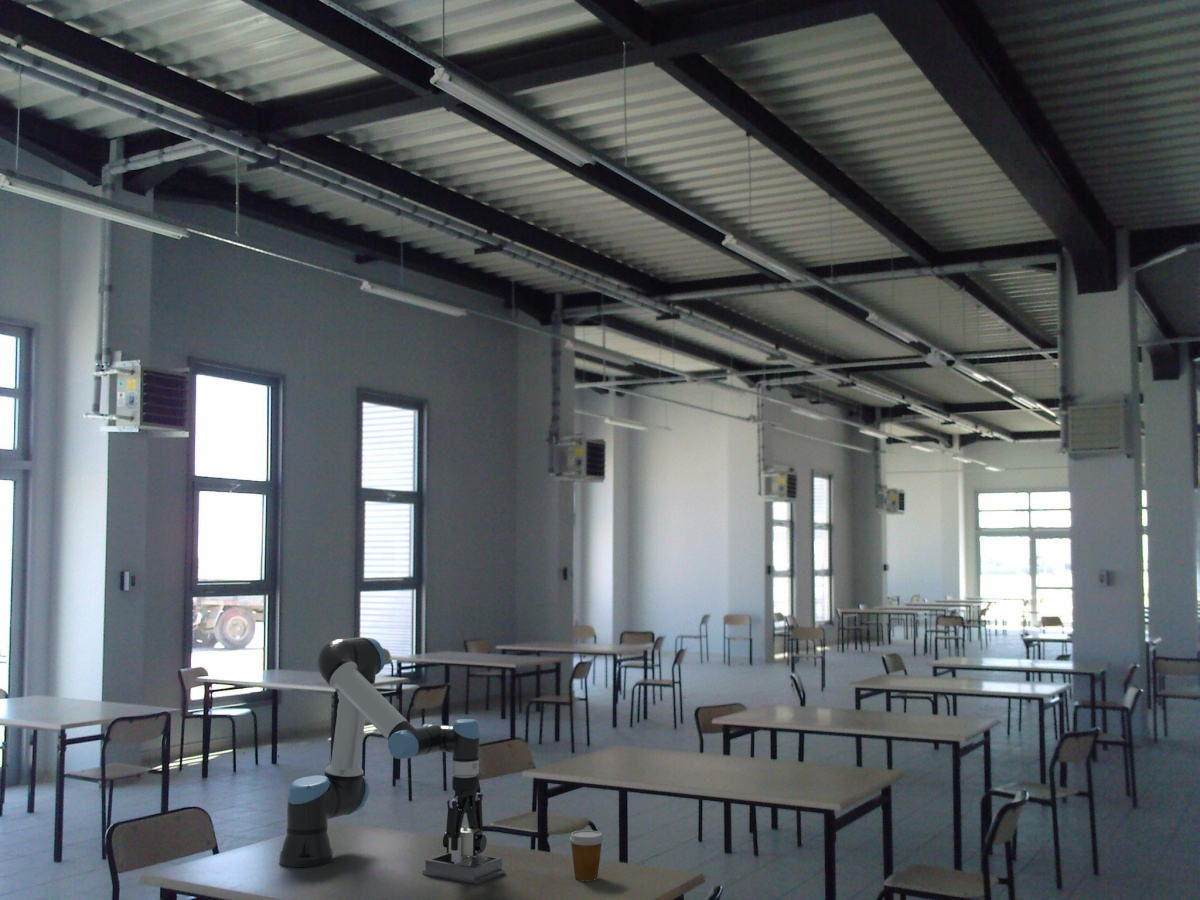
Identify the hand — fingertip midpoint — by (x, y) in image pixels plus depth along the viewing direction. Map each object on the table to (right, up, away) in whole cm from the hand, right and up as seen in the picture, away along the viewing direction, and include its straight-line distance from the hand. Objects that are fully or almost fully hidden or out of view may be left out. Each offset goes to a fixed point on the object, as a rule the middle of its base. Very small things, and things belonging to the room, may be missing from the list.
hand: (464, 858), depth 303 cm
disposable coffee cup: (+35, -4, -4) cm, 35 cm away
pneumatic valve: (0, -3, 0) cm, 3 cm away
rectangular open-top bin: (0, -4, -1) cm, 4 cm away
